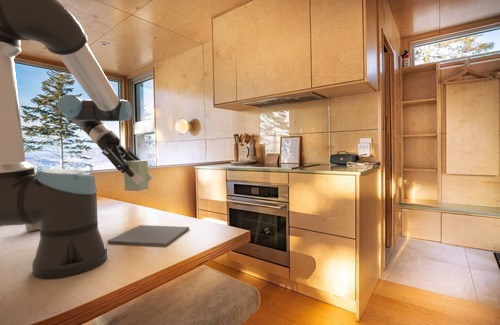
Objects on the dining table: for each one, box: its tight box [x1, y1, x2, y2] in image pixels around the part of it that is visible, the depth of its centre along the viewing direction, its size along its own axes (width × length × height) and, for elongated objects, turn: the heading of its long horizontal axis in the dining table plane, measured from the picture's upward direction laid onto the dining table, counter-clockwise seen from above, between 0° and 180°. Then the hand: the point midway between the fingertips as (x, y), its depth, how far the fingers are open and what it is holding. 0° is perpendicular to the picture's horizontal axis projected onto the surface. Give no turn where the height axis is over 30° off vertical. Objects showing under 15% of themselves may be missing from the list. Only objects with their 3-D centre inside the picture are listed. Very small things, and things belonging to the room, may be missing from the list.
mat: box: [107, 224, 190, 247], centre depth 85 cm, size 16×19×1 cm
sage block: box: [123, 160, 150, 192], centre depth 100 cm, size 6×6×11 cm
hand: (145, 180), depth 99 cm, fingers closed on sage block, 6 cm apart
